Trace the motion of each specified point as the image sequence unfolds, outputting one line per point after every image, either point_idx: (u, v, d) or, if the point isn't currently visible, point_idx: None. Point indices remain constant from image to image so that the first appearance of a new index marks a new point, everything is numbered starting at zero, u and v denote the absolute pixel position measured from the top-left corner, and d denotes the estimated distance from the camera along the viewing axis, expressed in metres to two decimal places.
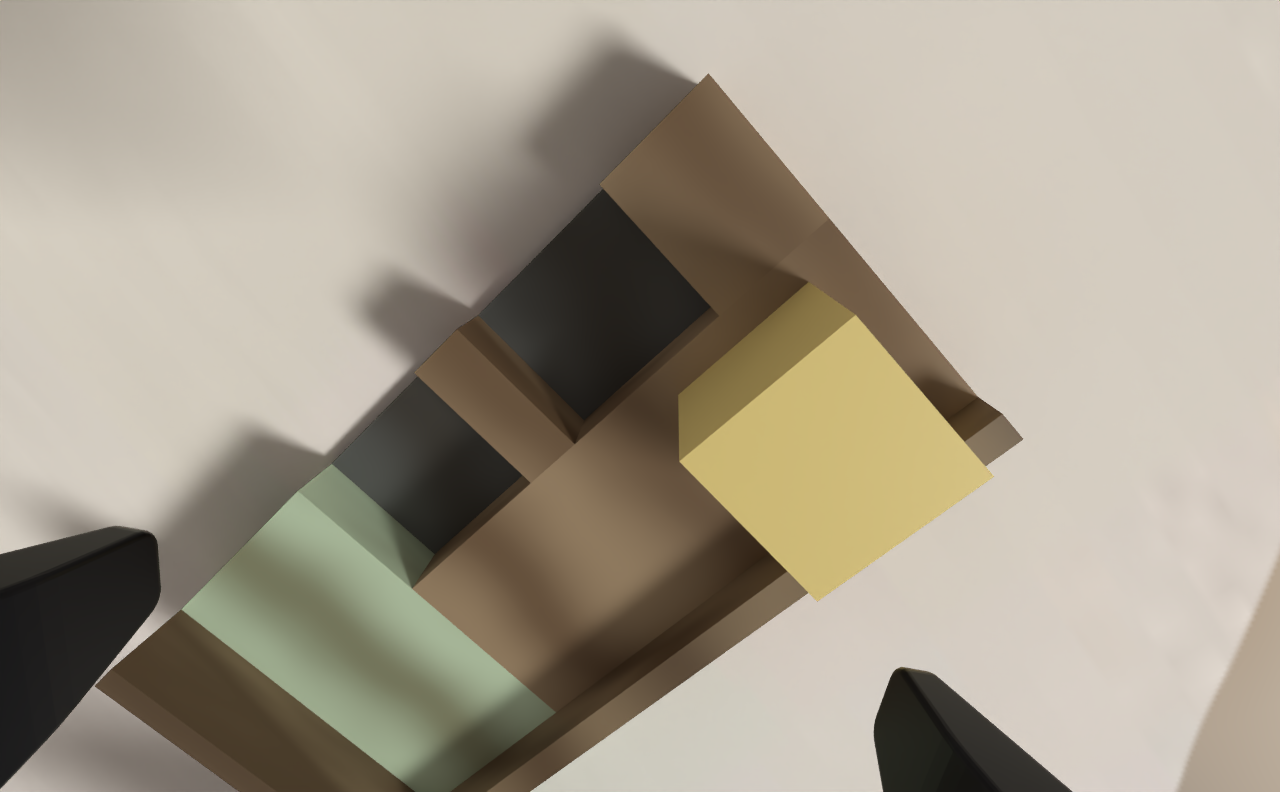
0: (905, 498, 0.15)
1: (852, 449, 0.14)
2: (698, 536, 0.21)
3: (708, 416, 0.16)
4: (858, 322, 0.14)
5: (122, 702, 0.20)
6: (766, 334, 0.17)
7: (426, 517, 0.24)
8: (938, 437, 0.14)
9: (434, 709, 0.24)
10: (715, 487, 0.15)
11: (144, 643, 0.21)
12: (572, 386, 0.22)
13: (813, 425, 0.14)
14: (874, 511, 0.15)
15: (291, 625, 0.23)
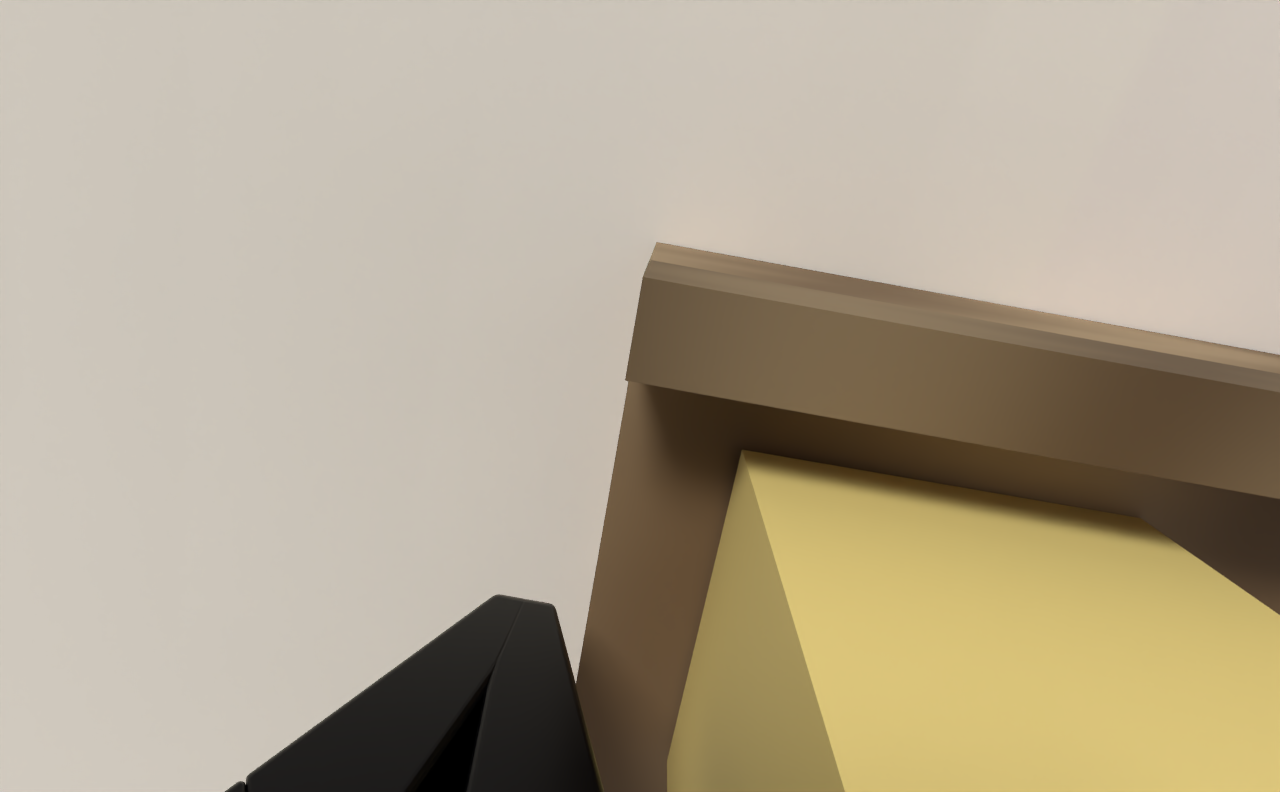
0: None
1: None
2: None
3: None
4: None
5: None
6: None
7: None
8: None
9: None
10: None
11: None
12: None
13: None
14: None
15: None
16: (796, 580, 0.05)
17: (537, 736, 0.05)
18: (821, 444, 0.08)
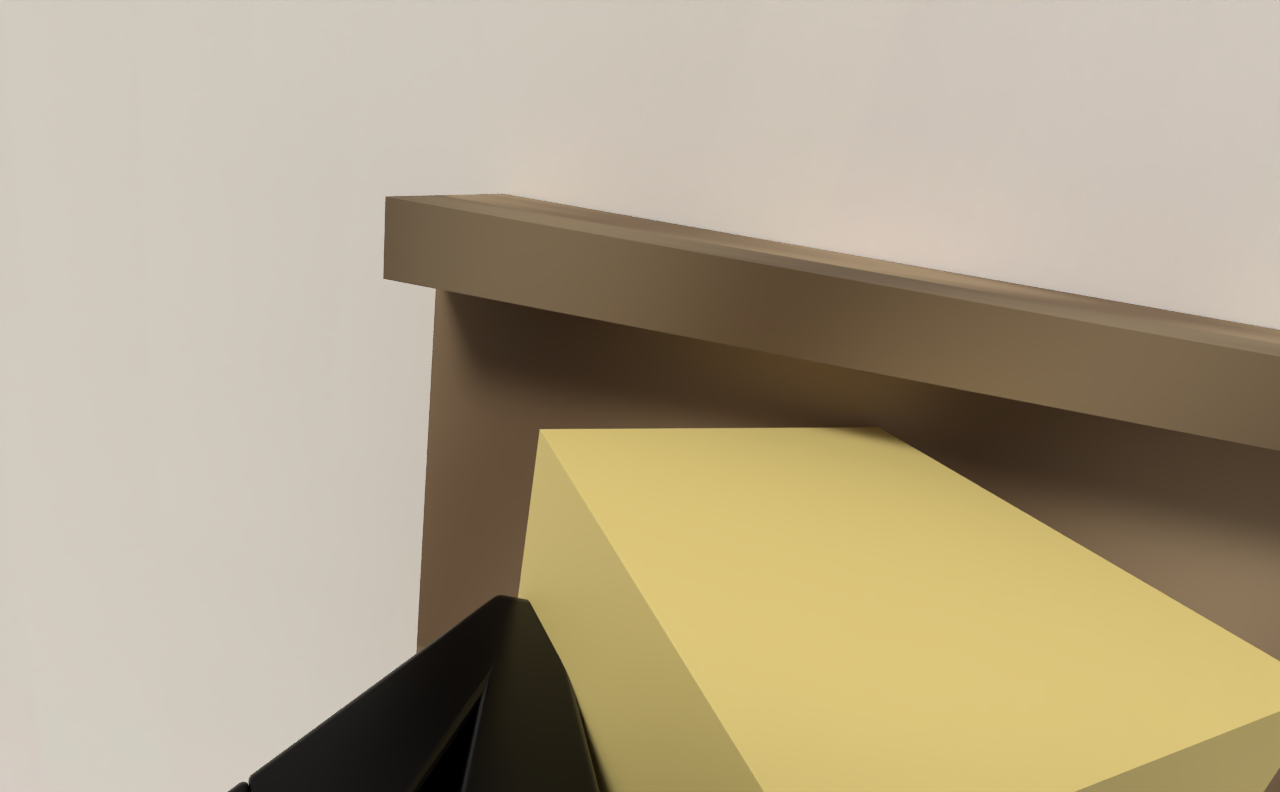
0: None
1: None
2: (1038, 516, 0.09)
3: None
4: None
5: None
6: None
7: None
8: None
9: None
10: None
11: None
12: None
13: None
14: None
15: None
16: (645, 573, 0.05)
17: (532, 735, 0.05)
18: (590, 349, 0.10)
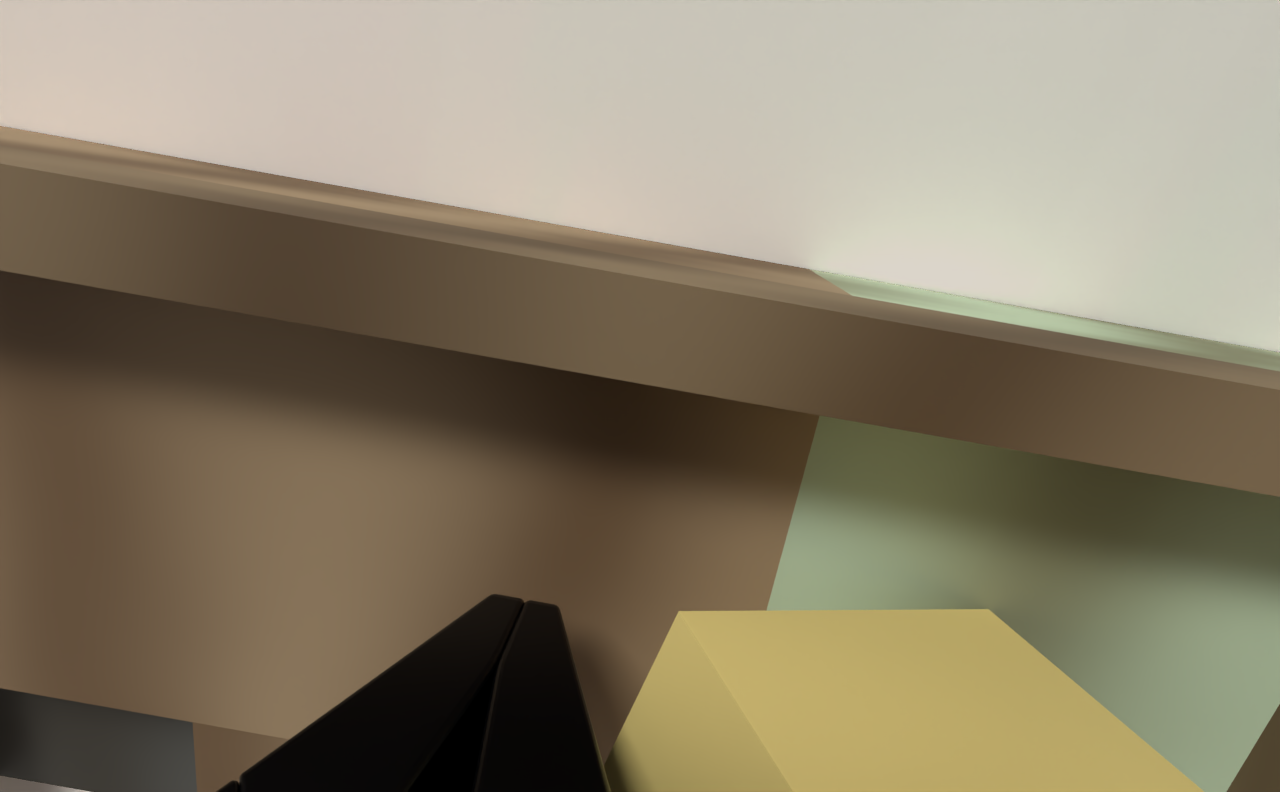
0: None
1: None
2: (117, 406, 0.08)
3: None
4: None
5: None
6: None
7: None
8: None
9: None
10: None
11: None
12: None
13: None
14: None
15: None
16: None
17: (543, 737, 0.05)
18: None
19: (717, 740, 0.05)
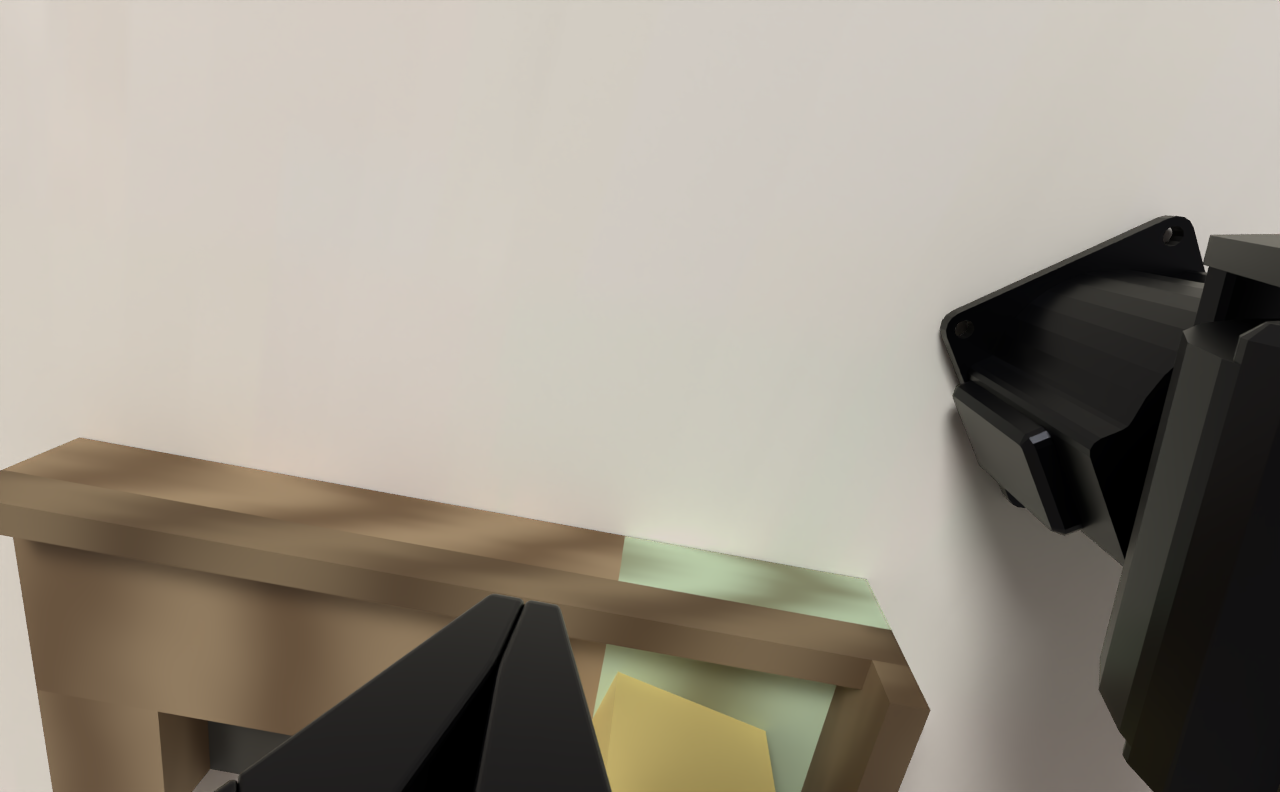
0: None
1: None
2: (319, 612, 0.19)
3: None
4: None
5: None
6: None
7: None
8: None
9: None
10: None
11: None
12: None
13: None
14: None
15: None
16: (613, 746, 0.17)
17: (545, 737, 0.05)
18: None
19: (609, 706, 0.19)
